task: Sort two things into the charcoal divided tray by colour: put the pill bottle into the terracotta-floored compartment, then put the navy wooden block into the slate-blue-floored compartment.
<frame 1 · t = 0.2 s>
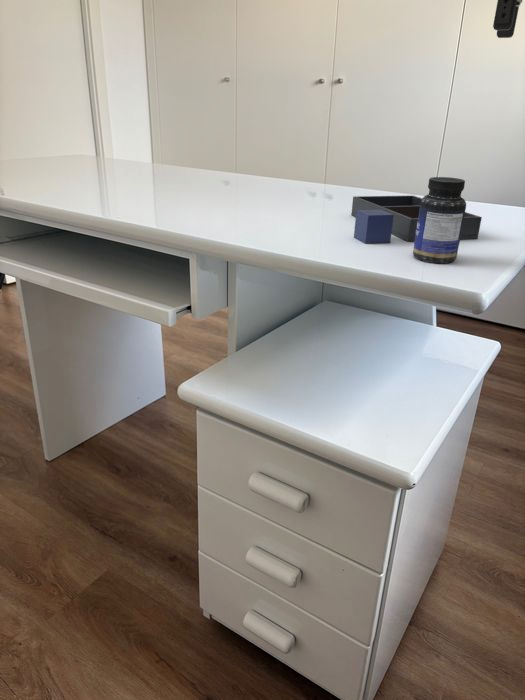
hand: (503, 33, 72), 29 cm above the table, tool pointing down, fingers open, 8 cm apart
sorting tray: (409, 226, 98), on the table
navy block: (371, 239, 87), on the table
pill bottle: (433, 259, 77), on the table
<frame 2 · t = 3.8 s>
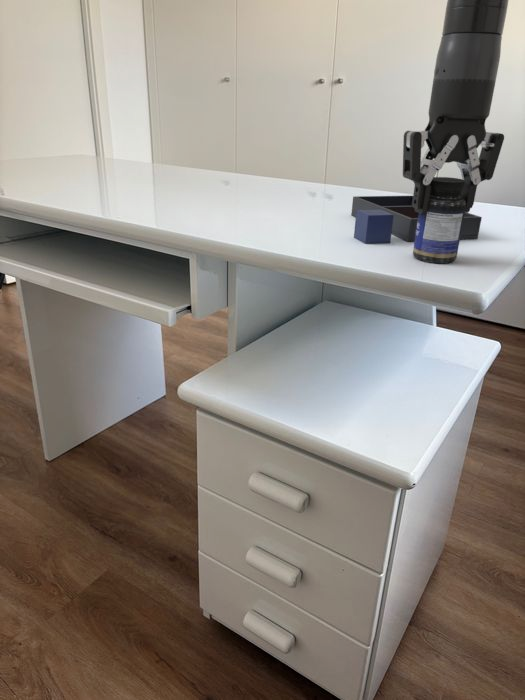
hand: (441, 211, 75), 7 cm above the table, tool pointing down, fingers closed on pill bottle, 6 cm apart
pill bottle: (433, 259, 77), on the table, touching gripper
everything else where it was.
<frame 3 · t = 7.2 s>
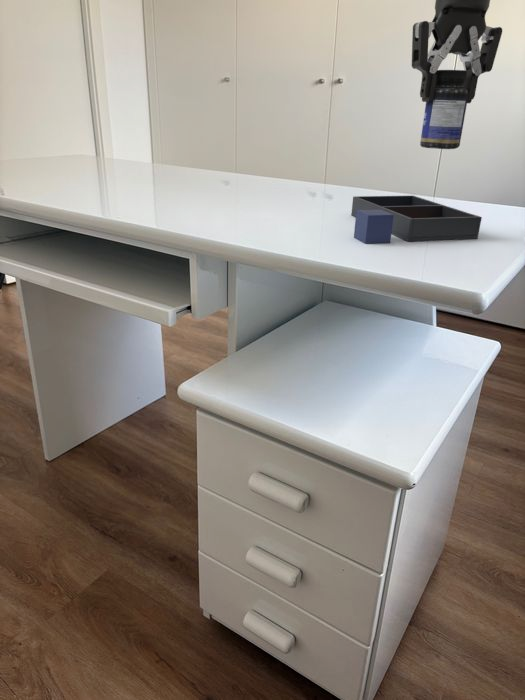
hand: (446, 102, 83), 21 cm above the table, tool pointing down, fingers closed on pill bottle, 6 cm apart
pill bottle: (439, 149, 86), point 14 cm above the table, touching gripper
everything else where it was.
when the fingers open (7 cm above the table, at t = 10.7 s): pill bottle stays where it is, resting on sorting tray.
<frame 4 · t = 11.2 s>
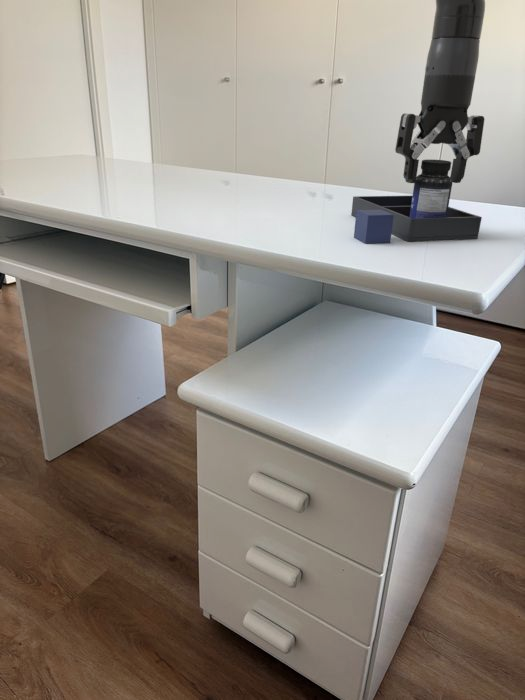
hand: (433, 182, 89), 8 cm above the table, tool pointing down, fingers open, 8 cm apart
pill bottle: (426, 229, 93), point 1 cm above the table, touching sorting tray
everything else where it was.
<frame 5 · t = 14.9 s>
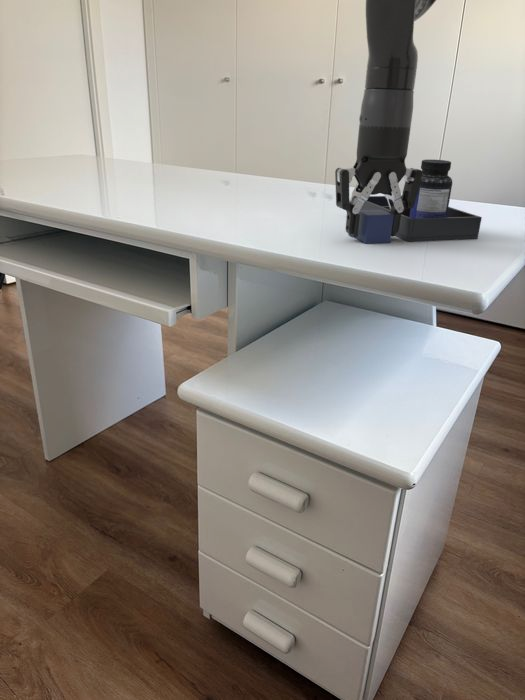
hand: (371, 235, 86), 1 cm above the table, tool pointing down, fingers open, 6 cm apart
nothing on the table moved.
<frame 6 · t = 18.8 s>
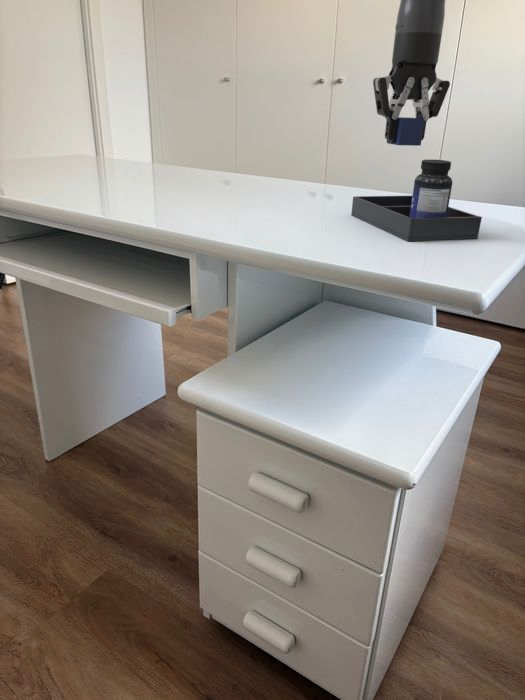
hand: (403, 142, 96), 14 cm above the table, tool pointing down, fingers closed on navy block, 4 cm apart
navy block: (403, 144, 96), point 14 cm above the table, touching gripper
everything else where it was.
when the fingers open (1 cm above the table, at t = 22.1 s): navy block stays where it is, resting on sorting tray.
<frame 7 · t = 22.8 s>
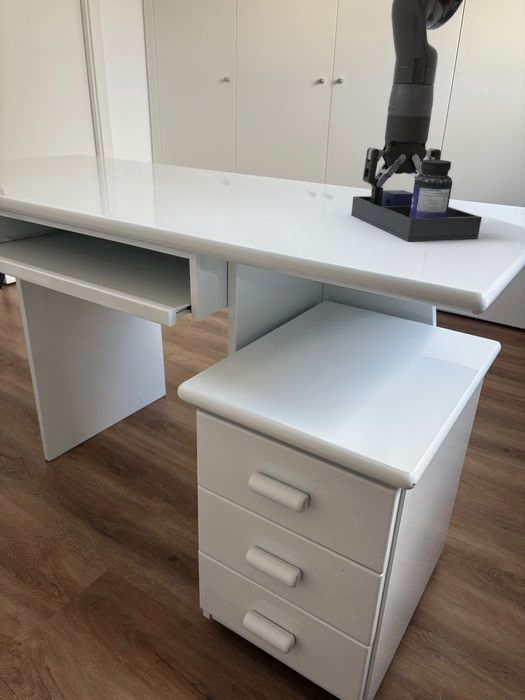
hand: (397, 206, 101), 2 cm above the table, tool pointing down, fingers open, 8 cm apart
navy block: (395, 215, 102), point 1 cm above the table, touching sorting tray
everything else where it was.
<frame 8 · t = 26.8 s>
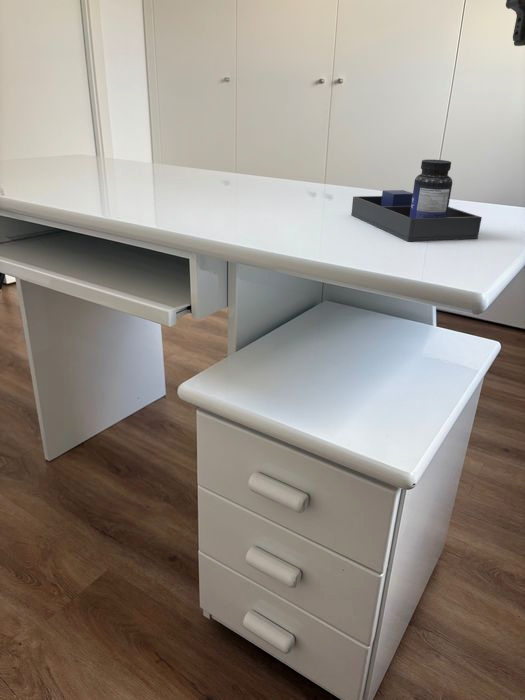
nothing on the table moved.
at the end: pill bottle inside the target area on the sorting tray (0.0 cm from its centre), point 0.6 cm above the sorting tray's base; pill bottle tilted 0°; navy block inside the target area on the sorting tray (0.0 cm from its centre), point 0.8 cm above the sorting tray's base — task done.
